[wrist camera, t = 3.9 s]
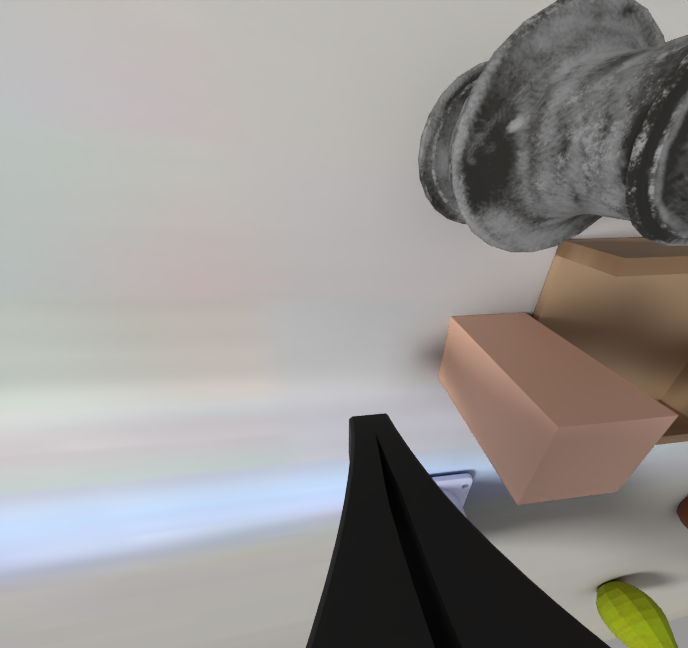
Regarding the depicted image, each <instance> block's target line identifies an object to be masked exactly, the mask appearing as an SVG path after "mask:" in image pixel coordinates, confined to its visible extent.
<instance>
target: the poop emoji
mask: <svg viewBox="0 0 688 648" xmlns="http://www.w3.org/2000/svg"><path fill="white" fill-rule="evenodd" d="M678 516H679V518H680V520H681V522H682V523H683V524H684V525H685V526H686V527H687V528H688V497H686V498H685V499H684V500H683V501H682V502H681V504H680V505H679V508H678Z"/></svg>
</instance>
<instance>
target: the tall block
mask: <svg viewBox="0 0 688 648" xmlns="http://www.w3.org/2000/svg"><path fill="white" fill-rule="evenodd" d="M438 379H439V381H440V382H441V384H442V385H443V387H444V389H445V390H446V392H447V393H448V395H449V397H450V398H451V400H452V401H453V403H454V405H455V406H456V408H457V409H458V411H459V413H460V414H461V416H462V417H463V419H464V421H465V422H466V424H467V425H468V427H469V429H470V430H471V432H472V433H473V435H474V437H475V438H476V440H477V441H478V443H479V445H480V446H481V448H482V449H483V451H484V453H485V454H486V456H487V457H488V459H489V461H490V462H491V464H492V466H493V467H494V469H495V470H496V472H497V474H498V475H499V477H500V478H501V480H502V482H503V483H504V485H505V486H506V488H507V490H508V491H509V493H510V494H511V496H512V498H513V499H514V501H515V502H516V504H517V505H524V504H531V503H539V502H546V501H554V500H562V499H569V498H577V497H584V496H592V495H599V494H607V493H615V492H618V490H619V489H620V488H621V487H622V485H623V484H624V483H625V482H626V480H627V479H628V478H629V477H630V475H631V474H632V473H633V472H634V470H635V469H636V468H637V467H638V465H639V464H640V463H641V462H642V460H643V459H644V458H645V457H646V455H647V454H648V453H649V452H650V450H651V449H652V448H653V447H654V445H655V444H656V443H657V442H658V441H659V439H660V438H661V437H662V436H663V434H664V433H665V432H666V431H667V429H668V428H669V427H670V426H671V424H672V423H673V422H674V421H675V419H676V418H677V417H678V416H679V415H677V414H676V413H674V412H673V411H671V410H670V409H668V408H667V407H665V406H664V405H662V404H661V403H659V402H658V401H656V400H655V399H653V398H652V397H650V396H649V395H647V394H646V393H644V392H643V391H641V390H640V389H638V388H637V387H635V386H634V385H632V384H631V383H630V382H628V381H627V380H625V379H624V378H622V377H621V376H619V375H618V374H616V373H615V372H613V371H612V370H610V369H609V368H607V367H606V366H604V365H603V364H601V363H600V362H598V361H597V360H595V359H594V358H592V357H591V356H589V355H588V354H586V353H585V352H583V351H582V350H580V349H579V348H577V347H576V346H574V345H573V344H571V343H570V342H568V341H567V340H565V339H564V338H562V337H561V336H559V335H558V334H556V333H555V332H553V331H552V330H550V329H549V328H547V327H546V326H544V325H543V324H541V323H540V322H538V321H537V320H535V319H534V318H532V317H531V316H529V315H528V314H526V313H525V312H523V313H505V314H487V315H469V316H451V319H450V324H449V329H448V334H447V338H446V343H445V348H444V353H443V358H442V362H441V367H440V372H439V377H438Z"/></svg>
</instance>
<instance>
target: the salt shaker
mask: <svg viewBox="0 0 688 648" xmlns="http://www.w3.org/2000/svg"><path fill="white" fill-rule="evenodd" d="M418 162H419V174H420V181H421V184H422V186H423V189H424V192H425V195H426V197H427V198H428V200H429V201H430V203H431V204H432V206H433V207H434V208H435V210H437V211H438V212H439V213H441V214H442V215H443V216H445V217H446V218H447V219H450V220H453V221H456V222H459V223H462V224H467V225H468V226H469V228H470V229H471V231H472V232H473V233H474V234H475V235H477V236H478V237H479V238H481V239H482V240H483V241H485V242H486V243H487V244H489V245H490V246H493V247H497V248H500V249H503V250H506V251H509V252H535V251H539V250H542V249H546V248H550V247H554V246H557V245H559V244H560V243H562V242H564V241H566V240H568V239H570V238H572V237H574V236H576V235H578V234H580V233H581V232H582V231H584V230H585V229H586V228H588V227H589V226H590V225H592V224H593V223H594V222H595V221H597V220H598V219H599V218H601V217H602V216H605V217H611V218H617V219H623V220H629V221H631V223H632V225H633V226H634V227H635V228H636V229H637V231H638V232H639V233H640V234H641V235H642V236H643V237H644V238H645V239H648V240H651V241H653V242H656V243H659V244H661V245H665V246H688V35H685V36H683V37H680V38H677V39H674V40H671V41H668V42H665V40H664V36H663V34H662V32H661V31H660V29H659V27H658V26H657V24H656V22H655V21H654V19H653V17H652V16H651V14H650V12H649V11H648V9H647V8H645V7H644V6H642V5H641V4H639V3H638V2H636V1H635V0H557V1H556V2H554V3H553V4H551V5H550V6H548V7H546V8H545V9H543V10H542V11H540V12H538V13H537V14H535V15H534V16H532V17H531V18H529V19H527V20H526V21H524V22H523V23H522V24H521V25H520V26H519V27H518V28H517V29H516V30H515V31H514V32H513V33H512V34H511V35H510V37H509V38H508V39H507V40H506V41H505V42H504V43H503V44H502V45H501V46H500V47H499V48H498V49H497V50H496V51H495V52H494V54H493V55H492V57H491V58H490V60H489V61H488V62H484V63H480V64H478V65H477V66H475V67H473V68H472V69H470V70H469V71H467V72H465V73H464V74H462V75H461V76H459V77H458V78H457V79H456V80H455V81H454V82H453V83H452V84H451V85H450V86H449V87H448V88H447V89H446V90H445V91H444V92H443V93H442V95H441V96H440V98H439V100H438V101H437V103H436V105H435V106H434V108H433V109H432V111H431V113H430V114H429V117H428V120H427V122H426V125H425V128H424V131H423V134H422V136H421V143H420V150H419V157H418Z"/></svg>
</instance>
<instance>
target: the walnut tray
mask: <svg viewBox="0 0 688 648" xmlns="http://www.w3.org/2000/svg"><path fill="white" fill-rule="evenodd" d="M532 318H534V319H535V320H537V321H538V322H540V323H541V324H543V325H544V326H546V327H547V328H549V329H550V330H552V331H553V332H555V333H556V334H558V335H559V336H561V337H562V338H564V339H565V340H567V341H568V342H570V343H571V344H573V345H574V346H576V347H577V348H579V349H580V350H582V351H583V352H585V353H586V354H588V355H589V356H591V357H592V358H594V359H595V360H597V361H598V362H600V363H601V364H603V365H604V366H606V367H607V368H609V369H610V370H612V371H613V372H615V373H616V374H618V375H619V376H621V377H622V378H624V379H625V380H627V381H628V382H630V383H631V384H632V385H634V386H635V387H637V388H638V389H640V390H641V391H643V392H644V393H646V394H647V395H649V396H650V397H652V398H653V399H655V400H656V401H658V402H659V403H661V404H662V405H664V406H665V407H667V408H668V409H670V410H671V411H673V412H674V413H676V414H677V415H679V416H678V417H677V418H676V419H675V421H674V422H673V423H672V424H671V426H670V427H669V428H668V429H667V431H666V432H665V433H664V434H663V436H662V437H661V438H660V439H659V441H658V442H657V443H656V444H655V445H658V444H667V443H676V442H685V441H688V246H665V245H661V244H659V243H656V242H653V241H651V240H648V239H645V238H644V237H639V238H603V239H568V240H566V241H564V242H562V243H560V244H559V246H558V249H557V252H556V254H555V257H554V260H553V263H552V265H551V268H550V271H549V273H548V276H547V279H546V282H545V284H544V287H543V290H542V293H541V295H540V298H539V301H538V304H537V306H536V309H535V312H534V314H533V317H532Z"/></svg>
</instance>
